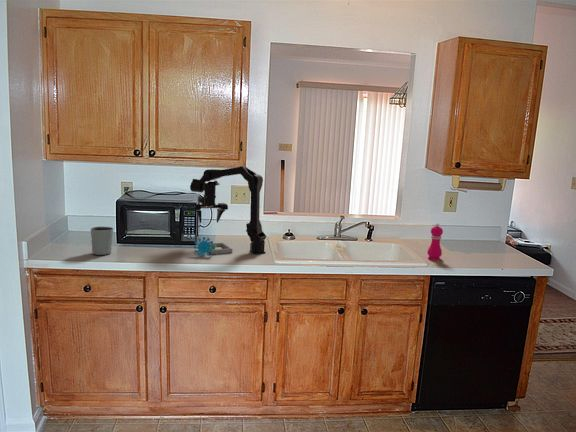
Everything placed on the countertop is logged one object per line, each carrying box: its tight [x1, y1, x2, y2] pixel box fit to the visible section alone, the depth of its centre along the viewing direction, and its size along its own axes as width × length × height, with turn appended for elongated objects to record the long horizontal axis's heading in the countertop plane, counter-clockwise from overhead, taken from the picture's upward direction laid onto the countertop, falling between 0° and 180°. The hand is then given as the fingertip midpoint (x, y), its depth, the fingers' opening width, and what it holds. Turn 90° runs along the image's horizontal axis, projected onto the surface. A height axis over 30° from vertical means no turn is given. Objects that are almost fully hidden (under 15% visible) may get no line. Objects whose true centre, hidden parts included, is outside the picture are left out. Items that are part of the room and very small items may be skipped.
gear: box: [193, 236, 217, 257], centre depth 238 cm, size 11×6×10 cm
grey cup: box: [90, 226, 114, 256], centre depth 232 cm, size 10×10×12 cm
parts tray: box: [208, 242, 233, 255], centre depth 249 cm, size 11×15×2 cm
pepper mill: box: [427, 223, 444, 261], centre depth 250 cm, size 7×7×20 cm
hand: (208, 222), depth 255 cm, fingers open, 9 cm apart
